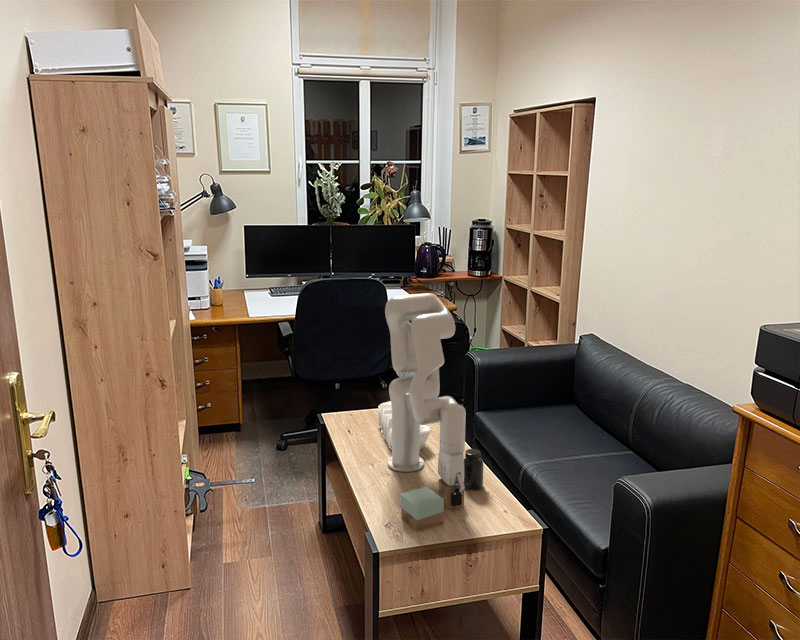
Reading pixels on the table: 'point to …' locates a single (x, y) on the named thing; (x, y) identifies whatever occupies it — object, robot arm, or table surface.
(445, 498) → the walnut block
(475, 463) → the supplement bottle
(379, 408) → the wavy white extrusion
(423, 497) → the tower top slab
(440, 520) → the tower base slab
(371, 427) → the table surface
